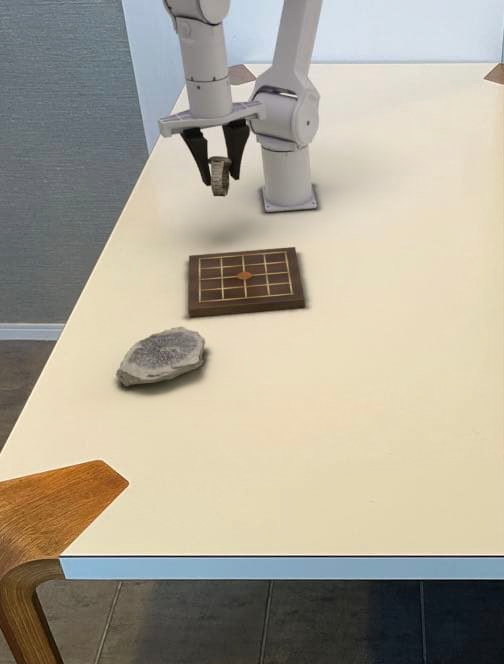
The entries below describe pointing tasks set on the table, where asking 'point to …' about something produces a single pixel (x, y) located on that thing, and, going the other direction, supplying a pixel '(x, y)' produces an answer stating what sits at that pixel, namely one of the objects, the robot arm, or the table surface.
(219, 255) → the board
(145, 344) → the fossil
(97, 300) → the table surface
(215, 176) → the wristwatch
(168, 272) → the table surface
